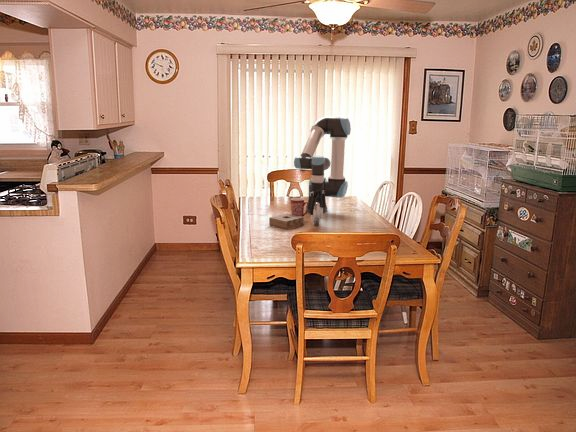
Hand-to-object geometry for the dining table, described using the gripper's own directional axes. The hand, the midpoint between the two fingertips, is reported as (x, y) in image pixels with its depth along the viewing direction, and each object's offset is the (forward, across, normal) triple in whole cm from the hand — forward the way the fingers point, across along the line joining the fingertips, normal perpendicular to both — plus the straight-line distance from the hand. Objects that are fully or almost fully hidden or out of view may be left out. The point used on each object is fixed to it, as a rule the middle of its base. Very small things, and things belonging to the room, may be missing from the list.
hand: (316, 218), depth 291 cm
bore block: (+4, +13, -13) cm, 19 cm away
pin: (+4, 0, 0) cm, 4 cm away
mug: (+4, -4, -17) cm, 18 cm away
